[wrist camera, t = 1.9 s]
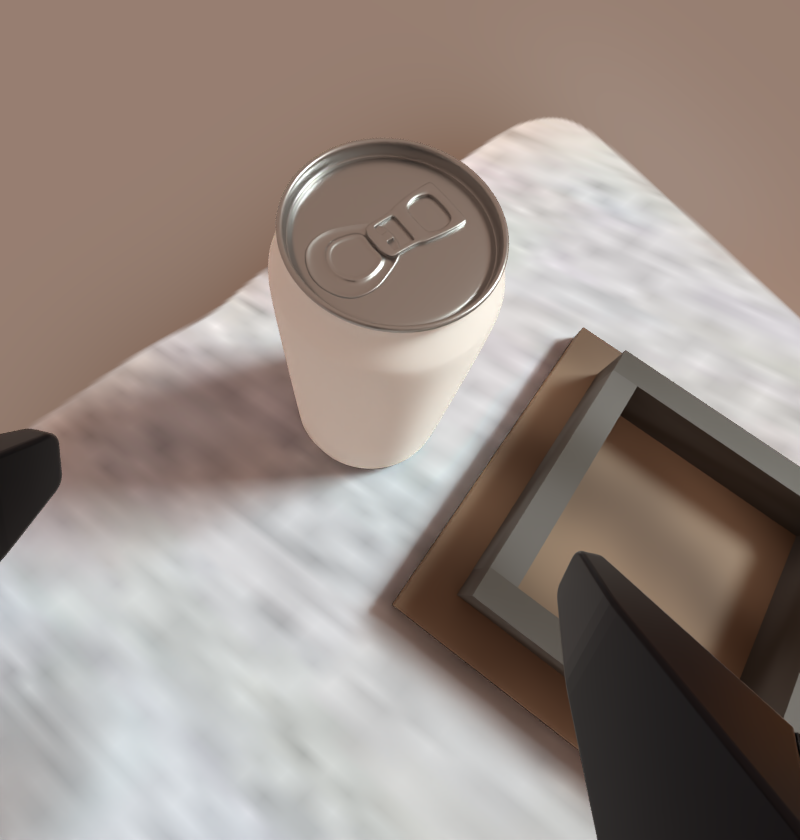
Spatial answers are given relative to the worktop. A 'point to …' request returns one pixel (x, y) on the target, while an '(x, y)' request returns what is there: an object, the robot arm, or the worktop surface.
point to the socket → (619, 533)
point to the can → (383, 292)
